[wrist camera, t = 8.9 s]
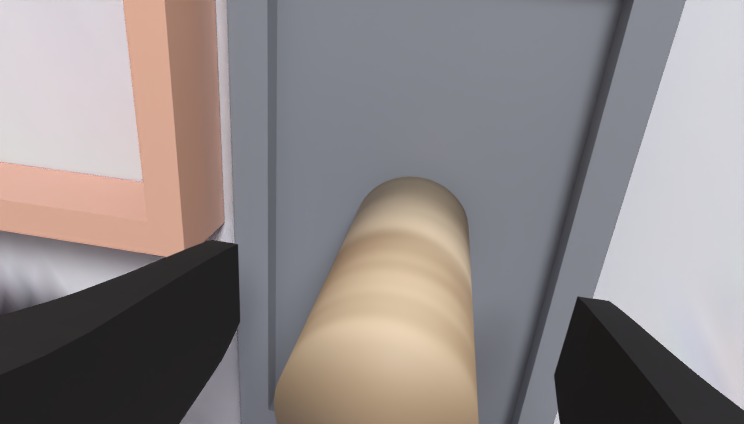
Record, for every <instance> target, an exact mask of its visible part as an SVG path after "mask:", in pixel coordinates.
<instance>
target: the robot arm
mask: <svg viewBox="0 0 744 424" xmlns="http://www.w3.org/2000/svg"><path fill="white" fill-rule="evenodd" d="M239 323H240V292H239V258H238V244H234V243H227V242H221V241H214V240H211V241H207V242H204V243H201V244H198V245H195V246H193V247H190V248H187V249H185V250H183V251H180V252H178V253H175V254H173V255H170V256H168V257H166V258H163V259H161V260H158V261H156V262H154V263H151V264H149V265H146V266H144V267H141V268H139V269H137V270H134V271H132V272H129V273H127V274H124V275H122V276H119V277H116V278H114V279H111V280H108V281H106V282H103V283H100V284H98V285H95V286H92V287H90V288H87V289H84V290H82V291H79V292H76V293H73V294H70V295H67V296H64V297H61V298H58V299H55V300H52V301H49V302H45V303H42V304H39V305H35V306H32V307H28V308H25V309H22V310H18V311H15V312H11V313H7V314H3V315H0V424H179V423H180V422H181V420H182V419H183V417H184V416H185V414H186V413H187V411H188V410H189V408H190V407H191V405H192V404H193V403H194V401H195V400H196V398H197V397H198V395H199V394H200V392H201V391H202V389H203V388H204V386H205V385H206V383H207V382H208V380H209V379H210V377H211V376H212V374H213V373H214V371H215V370H216V368H217V366H218V365H219V363H220V362H221V360H222V358H223V356H224V354H225V353H226V351H227V349H228V347H229V345H230V343H231V341H232V338H233V336H234V334H235V332H236V330H237V328H238V326H239ZM554 380H555V389H556V398H557V406H558V413H559V420H560V424H744V410H742V409H741V408H740V407H739V406H737V405H736V404H735V403H733V402H732V401H731V400H729V399H728V398H727V397H725V396H724V395H723V394H722V393H720V392H719V391H718V390H716V389H715V388H714V387H712V386H711V385H710V384H709V383H707V382H706V381H705V380H704V379H702V378H701V377H700V376H699V375H697V374H696V373H695V372H694V371H692V370H691V369H690V368H689V367H688V366H686V365H685V364H684V363H683V362H682V361H680V360H679V359H678V358H677V357H676V356H674V355H673V354H672V353H671V352H670V351H669V350H667V349H666V348H665V347H664V346H663V345H662V344H660V343H659V342H658V341H657V340H656V339H655V338H653V337H652V336H651V335H650V334H649V333H648V332H646V331H645V330H644V329H643V328H642V327H641V326H639V325H638V324H637V323H636V322H635V321H634V320H632V319H631V318H630V317H629V316H628V315H626V314H625V313H624V312H623V311H622V310H620V309H619V308H618V307H616V306H615V305H614V304H612V303H611V302H609V301H605V300H598V299H592V298H585V297H579V296H577V300H576V303H575V306H574V310H573V313H572V316H571V320H570V323H569V326H568V330H567V333H566V337H565V340H564V343H563V347H562V350H561V353H560V357H559V360H558V363H557V367H556V370H555V373H554Z"/></svg>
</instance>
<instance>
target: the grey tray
mask: <svg viewBox="0 0 744 424" xmlns="http://www.w3.org/2000/svg"><path fill="white" fill-rule="evenodd" d="M685 1H686V0H227V24H228V54H229V85H230V115H231V145H232V176H233V206H234V237H235V244H238V258H239V292H240V323H239V326H238V359H239V389H240V419H241V424H277V421H276V417H275V413H274V394H275V390H276V386H277V383H278V381H279V379H280V376H281V374H282V372H283V370H284V368H285V366H286V364H287V362H288V359H289V357H290V355H291V353H292V351H293V349H294V347H295V344H296V342H297V340H298V338H299V336H300V334H301V332H302V329H303V327H304V325H305V323H306V321H307V319H308V317H309V314H310V312H311V310H312V308H313V306H314V304H315V302H316V299H317V297H318V295H319V293H320V291H321V289H322V287H323V285H324V282H325V280H326V278H327V276H328V274H329V272H330V270H331V267H332V265H333V263H334V261H335V259H336V257H337V255H338V252H339V250H340V248H341V246H342V244H343V242H344V240H345V237H346V235H347V233H348V231H349V229H350V227H351V225H352V223H353V220H354V218H355V216H356V214H357V212H358V210H359V208H360V205H361V203H362V202H363V200H364V199H365V197H366V196H367V195H368V194H369V193H370V192H371V191H372V190H373V189H374V188H375V187H377V186H379V185H380V184H382V183H384V182H386V181H388V180H391V179H394V178H399V177H410V176H411V177H421V178H426V179H429V180H432V181H434V182H436V183H439V184H441V185H442V186H444V187H445V188H447V189H448V190H449V191H450V192H452V193H453V194H454V195H455V197H456V198H457V199H458V200H459V202H460V203H461V204H462V206H463V208H464V210H465V213H466V216H467V219H468V224H469V244H470V263H471V283H472V302H473V322H474V342H475V361H476V381H477V400H478V420H479V424H553V423H554V420H555V417H556V414H557V410H558V406H557V398H556V389H555V380H554V373H555V370H556V367H557V363H558V360H559V357H560V353H561V350H562V347H563V343H564V340H565V337H566V333H567V330H568V326H569V323H570V320H571V316H572V313H573V310H574V306H575V303H576V300H577V296H579V297H585V298H593V295H594V292H595V289H596V286H597V283H598V279H599V276H600V273H601V270H602V267H603V263H604V260H605V257H606V254H607V251H608V247H609V244H610V241H611V238H612V235H613V231H614V228H615V225H616V222H617V219H618V215H619V212H620V209H621V206H622V203H623V199H624V196H625V193H626V190H627V187H628V183H629V180H630V177H631V174H632V171H633V168H634V164H635V161H636V158H637V155H638V152H639V148H640V145H641V142H642V139H643V136H644V132H645V129H646V126H647V123H648V120H649V116H650V113H651V110H652V107H653V104H654V100H655V97H656V94H657V91H658V88H659V84H660V81H661V78H662V75H663V72H664V68H665V65H666V62H667V59H668V56H669V53H670V49H671V46H672V43H673V40H674V37H675V33H676V30H677V27H678V24H679V21H680V17H681V14H682V11H683V8H684V5H685Z"/></svg>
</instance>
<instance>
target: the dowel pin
mask: <svg viewBox="0 0 744 424" xmlns="http://www.w3.org/2000/svg"><path fill="white" fill-rule="evenodd" d="M274 413H275V417H276V421H277V424H479V420H478V400H477V381H476V361H475V342H474V322H473V302H472V283H471V263H470V244H469V224H468V219H467V216H466V213H465V210H464V208H463V206H462V204H461V203H460V202H459V200H458V199H457V198H456V197H455V195H454V194H453V193H452V192H450V191H449V190H448V189H447V188H445V187H444V186H442V185H441V184H439V183H436V182H434V181H432V180H429V179H426V178H421V177H411V176H410V177H399V178H394V179H391V180H388V181H386V182H384V183H382V184H380V185H379V186H377V187H375V188H374V189H373V190H372V191H371V192H370V193H369V194H368V195H367V196H366V197H365V199H364V200H363V202H362V203H361V205H360V208H359V210H358V212H357V214H356V216H355V218H354V220H353V223H352V225H351V227H350V229H349V231H348V233H347V235H346V237H345V240H344V242H343V244H342V246H341V248H340V250H339V252H338V255H337V257H336V259H335V261H334V263H333V265H332V267H331V270H330V272H329V274H328V276H327V278H326V280H325V282H324V285H323V287H322V289H321V291H320V293H319V295H318V297H317V299H316V302H315V304H314V306H313V308H312V310H311V312H310V314H309V317H308V319H307V321H306V323H305V325H304V327H303V329H302V332H301V334H300V336H299V338H298V340H297V342H296V344H295V347H294V349H293V351H292V353H291V355H290V357H289V359H288V362H287V364H286V366H285V368H284V370H283V372H282V374H281V376H280V379H279V381H278V383H277V386H276V390H275V394H274Z"/></svg>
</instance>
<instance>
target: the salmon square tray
mask: <svg viewBox="0 0 744 424" xmlns="http://www.w3.org/2000/svg"><path fill="white" fill-rule="evenodd" d="M123 5H124V14H125V24H126V33H127V42H128V51H129V60H130V69H131V78H132V87H133V96H134V105H135V114H136V123H137V132H138V141H139V150H140V159H141V168H142V177H143V182H137V181H130V180H123V179H116V178H109V177H102V176H95V175H88V174H81V173H74V172H67V171H60V170H53V169H46V168H39V167H32V166H25V165H18V164H11V163H4V162H0V230H1V231H8V232H14V233H20V234H26V235H33V236H39V237H45V238H52V239H58V240H64V241H70V242H77V243H83V244H89V245H95V246H102V247H108V248H114V249H121V250H127V251H133V252H139V253H146V254H152V255H158V256H164V257H168V256H170V255H173V254H175V253H178V252H180V251H183V250H185V249H187V248H190V247H193V246H195V245H198V244H201V243H203V242H204V241H206V240H207V239H208V238H209V237H210V236H211V235H212V234H213V233H214V232H215V231H216V230H217V229H218V228H219V227H220V226H221V225H222V224H223V223H224V202H223V178H222V154H221V130H220V106H219V82H218V58H217V34H216V10H215V0H123Z"/></svg>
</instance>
